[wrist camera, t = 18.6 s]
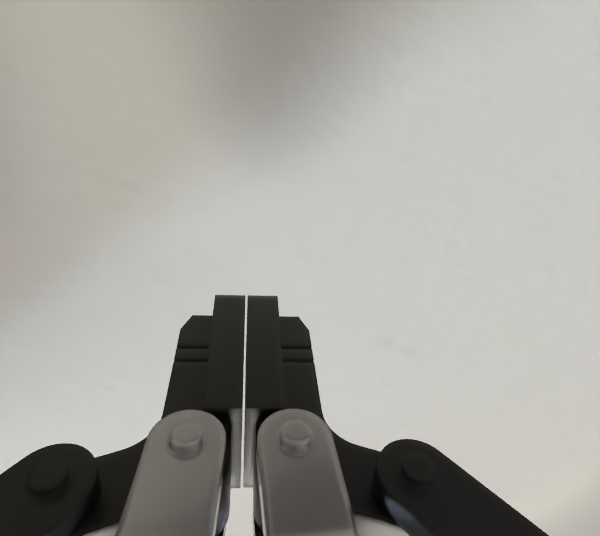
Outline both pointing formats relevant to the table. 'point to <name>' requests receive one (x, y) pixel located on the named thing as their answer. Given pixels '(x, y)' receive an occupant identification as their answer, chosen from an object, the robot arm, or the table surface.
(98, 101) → the table surface
